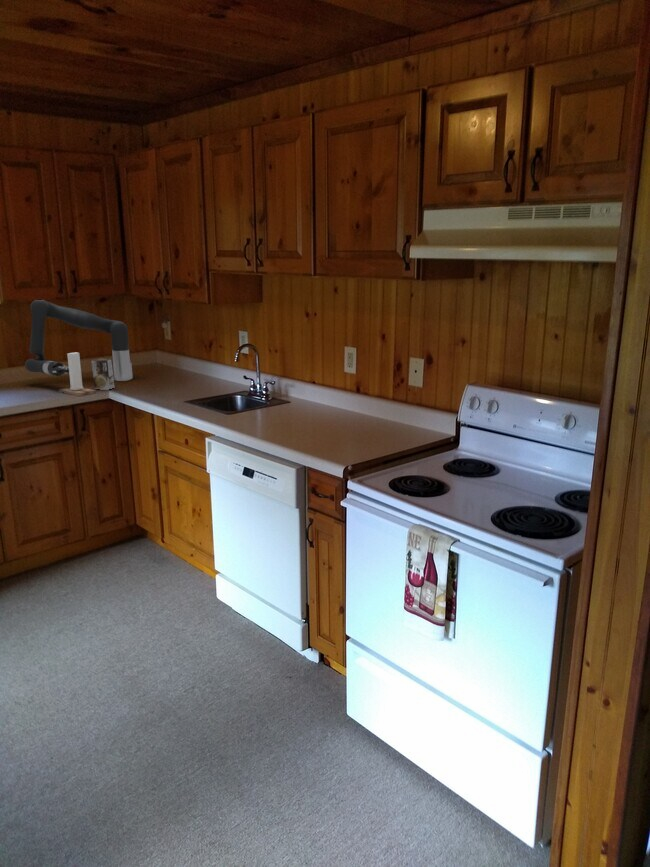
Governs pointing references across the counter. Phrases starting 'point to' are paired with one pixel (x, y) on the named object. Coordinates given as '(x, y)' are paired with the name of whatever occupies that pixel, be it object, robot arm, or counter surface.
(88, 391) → the slider board
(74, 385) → the slider tab
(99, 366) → the coffee box
